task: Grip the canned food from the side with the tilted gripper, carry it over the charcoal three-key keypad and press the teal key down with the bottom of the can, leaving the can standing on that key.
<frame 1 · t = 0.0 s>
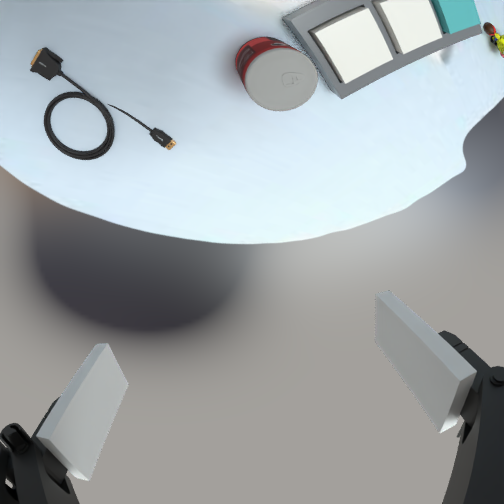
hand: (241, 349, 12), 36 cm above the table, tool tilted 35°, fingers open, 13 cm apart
key middle: (407, 18, 24), point 4 cm above the table, slide at 0.0 cm
cable: (85, 120, 35), on the table
keypad frame: (392, 14, 26), on the table
canned food: (263, 60, 33), on the table
toy figure: (493, 40, 25), on the table
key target: (451, 3, 20), point 4 cm above the table, slide at 0.0 cm
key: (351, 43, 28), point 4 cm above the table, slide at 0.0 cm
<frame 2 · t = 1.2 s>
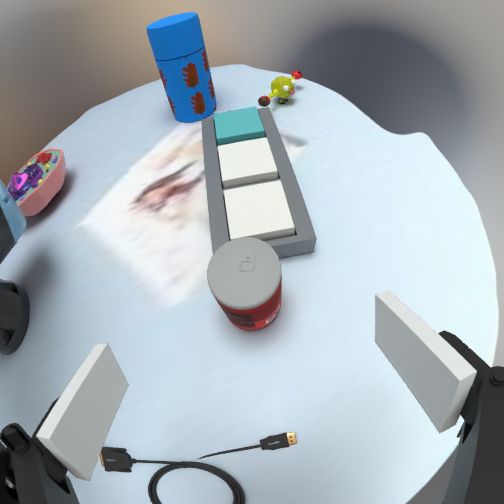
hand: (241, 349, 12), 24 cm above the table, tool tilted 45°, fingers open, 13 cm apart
key middle: (246, 164, 46), point 4 cm above the table, slide at 0.0 cm
cell model: (47, 197, 55), on the table
cable: (198, 488, 27), on the table
keypad frame: (249, 179, 49), on the table
thermos: (195, 110, 62), on the table
canned food: (253, 303, 39), on the table
toy figure: (283, 102, 61), on the table
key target: (238, 128, 51), point 4 cm above the table, slide at 0.0 cm
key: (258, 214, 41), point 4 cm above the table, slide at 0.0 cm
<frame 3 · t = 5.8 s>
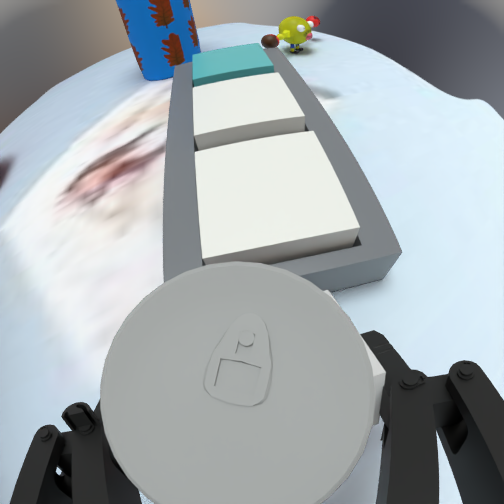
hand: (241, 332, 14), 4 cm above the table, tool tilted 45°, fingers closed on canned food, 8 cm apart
key middle: (244, 113, 23), point 4 cm above the table, slide at 0.0 cm
keypad frame: (248, 144, 27), on the table
thermos: (172, 67, 40), on the table
canned food: (259, 397, 16), on the table, touching gripper
toy figure: (296, 52, 38), on the table
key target: (231, 70, 28), point 4 cm above the table, slide at 0.0 cm
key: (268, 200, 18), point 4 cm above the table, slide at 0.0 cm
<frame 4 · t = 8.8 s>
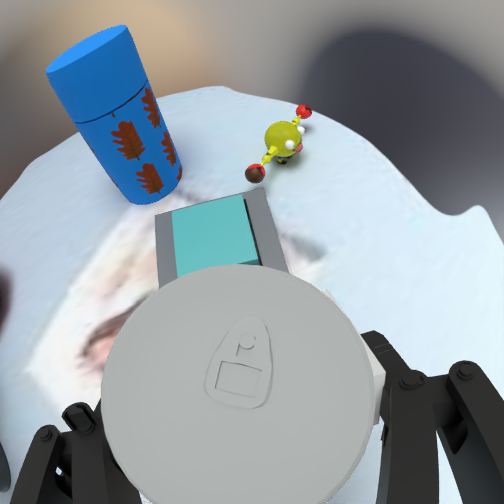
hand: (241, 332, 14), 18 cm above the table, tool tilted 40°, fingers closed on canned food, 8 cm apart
keypad frame: (236, 337, 31), on the table
thermos: (152, 179, 43), on the table
canned food: (260, 398, 16), point 13 cm above the table, touching gripper
toy figure: (284, 160, 42), on the table
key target: (214, 240, 32), point 4 cm above the table, slide at 0.0 cm
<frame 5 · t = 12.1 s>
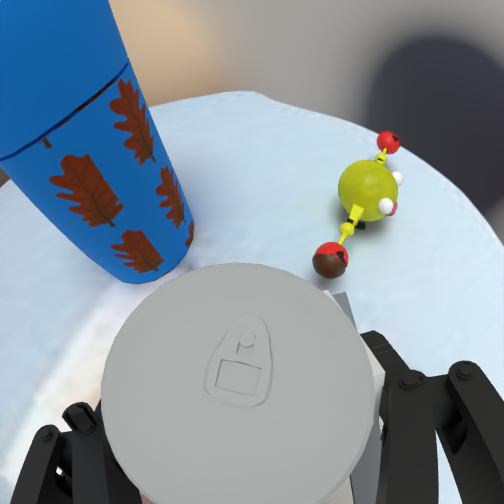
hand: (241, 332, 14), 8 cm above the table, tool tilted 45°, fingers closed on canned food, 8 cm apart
thermos: (146, 237, 28), on the table
canned food: (260, 397, 16), point 4 cm above the table, touching gripper, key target
toy figure: (359, 220, 26), on the table
when the fingers open (8 cm above the table, at t = 12.2 s): canned food stays where it is, resting on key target.
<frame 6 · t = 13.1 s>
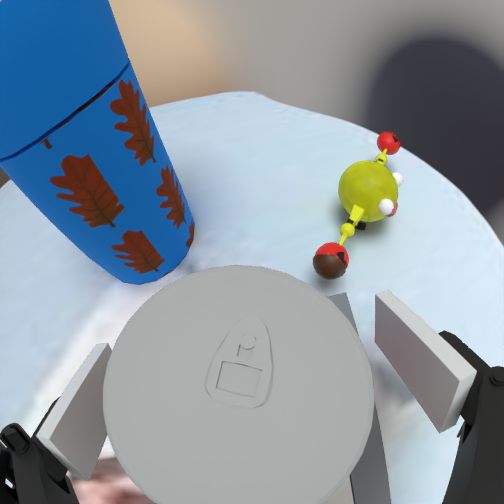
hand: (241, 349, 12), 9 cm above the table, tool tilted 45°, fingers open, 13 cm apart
thermos: (146, 237, 28), on the table
canned food: (260, 398, 16), point 4 cm above the table, touching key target
toy figure: (359, 220, 26), on the table
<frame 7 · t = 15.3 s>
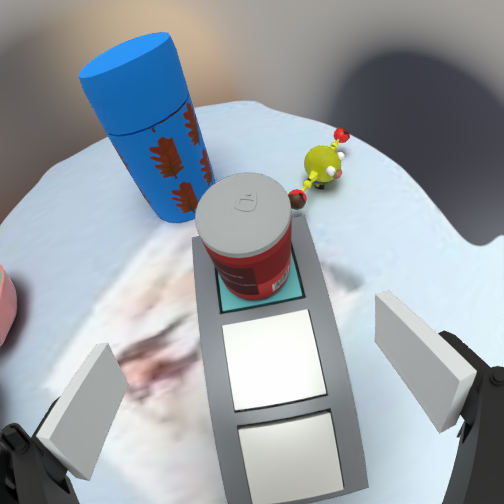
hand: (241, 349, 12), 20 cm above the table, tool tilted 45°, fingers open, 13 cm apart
key middle: (273, 362, 27), point 4 cm above the table, slide at 0.0 cm
cell model: (5, 318, 37), on the table
keypad frame: (274, 365, 30), on the table
thermos: (184, 196, 43), on the table
canned food: (256, 269, 32), point 4 cm above the table, touching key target
toy figure: (321, 184, 42), on the table
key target: (257, 274, 33), point 2 cm above the table, slide at 1.5 cm, touching canned food
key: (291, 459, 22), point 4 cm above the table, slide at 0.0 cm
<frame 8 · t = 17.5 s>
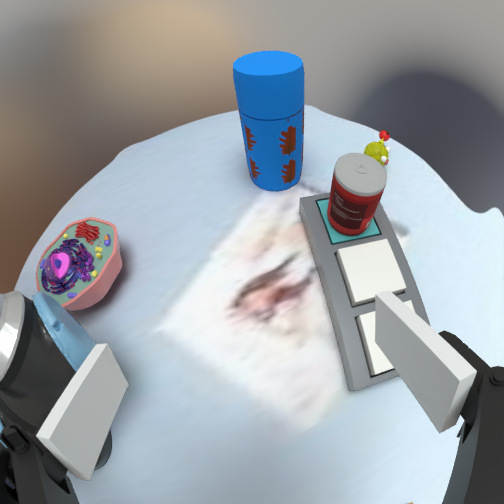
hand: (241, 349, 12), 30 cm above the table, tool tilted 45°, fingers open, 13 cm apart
key middle: (369, 273, 41), point 4 cm above the table, slide at 0.0 cm
cell model: (95, 278, 50), on the table
keypad frame: (363, 282, 44), on the table
thermos: (275, 172, 57), on the table
canned food: (348, 217, 46), point 4 cm above the table, touching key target
toy figure: (372, 169, 56), on the table
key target: (346, 222, 47), point 2 cm above the table, slide at 1.5 cm, touching canned food
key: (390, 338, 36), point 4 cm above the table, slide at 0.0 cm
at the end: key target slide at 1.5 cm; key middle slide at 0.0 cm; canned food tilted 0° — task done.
